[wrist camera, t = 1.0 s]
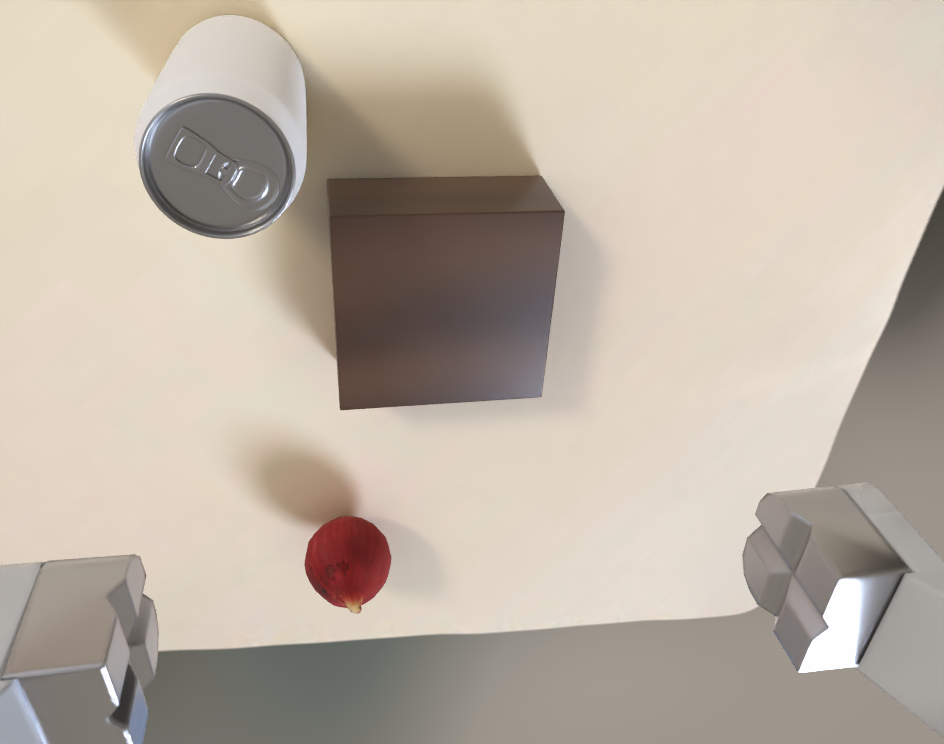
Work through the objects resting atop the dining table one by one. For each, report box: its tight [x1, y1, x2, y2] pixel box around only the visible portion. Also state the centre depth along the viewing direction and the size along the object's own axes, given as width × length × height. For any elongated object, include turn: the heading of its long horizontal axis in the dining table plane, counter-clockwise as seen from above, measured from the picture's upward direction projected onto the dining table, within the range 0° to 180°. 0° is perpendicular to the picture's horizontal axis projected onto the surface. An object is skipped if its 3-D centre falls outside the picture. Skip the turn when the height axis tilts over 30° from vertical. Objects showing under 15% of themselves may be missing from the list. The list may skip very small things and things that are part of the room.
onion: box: [305, 516, 391, 614], centre depth 54 cm, size 6×6×8 cm
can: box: [134, 15, 307, 239], centre depth 34 cm, size 6×6×12 cm
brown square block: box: [327, 176, 565, 410], centre depth 45 cm, size 12×12×5 cm
